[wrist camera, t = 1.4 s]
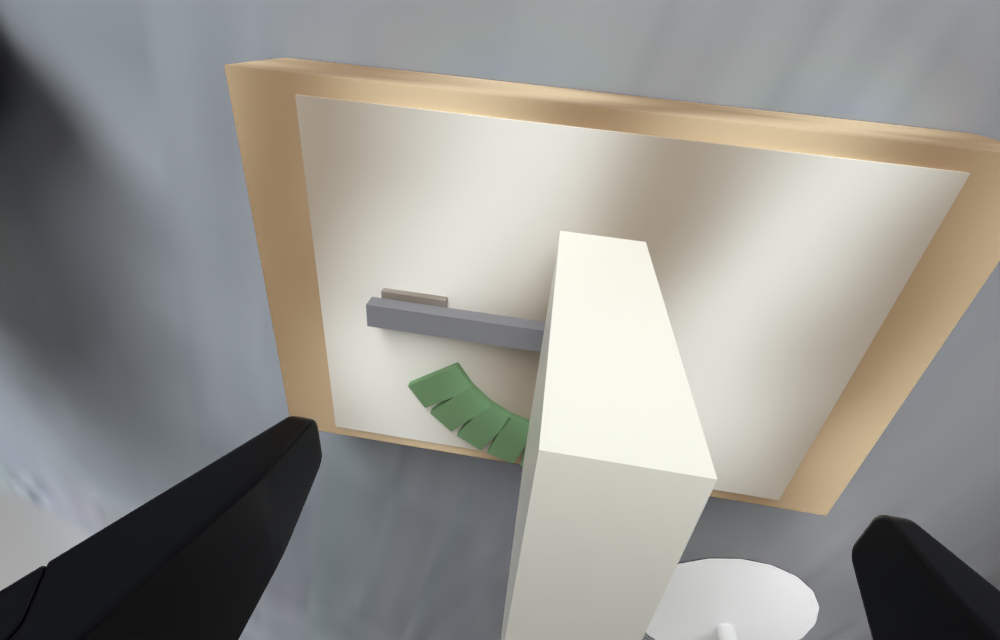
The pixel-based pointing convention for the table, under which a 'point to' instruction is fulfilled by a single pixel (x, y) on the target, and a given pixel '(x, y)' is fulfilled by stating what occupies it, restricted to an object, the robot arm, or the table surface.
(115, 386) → the table surface
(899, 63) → the table surface
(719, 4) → the table surface
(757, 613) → the wineglass
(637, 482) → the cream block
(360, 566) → the table surface
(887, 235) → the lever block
